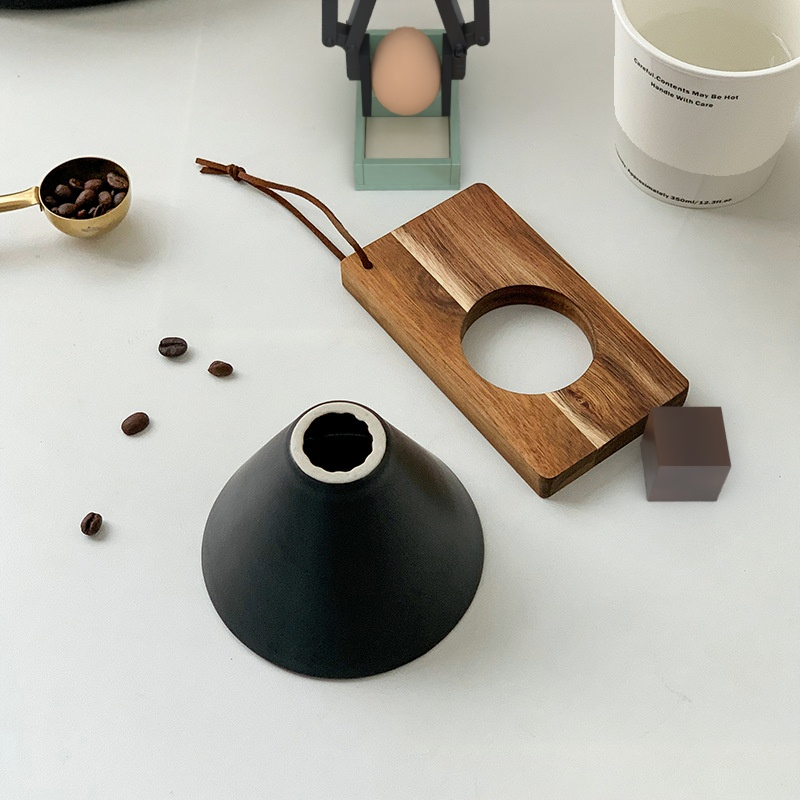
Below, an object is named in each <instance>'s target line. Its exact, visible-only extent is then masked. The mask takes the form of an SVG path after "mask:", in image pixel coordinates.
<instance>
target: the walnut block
mask: <svg viewBox="0 0 800 800" xmlns="http://www.w3.org/2000/svg"><path fill="white" fill-rule="evenodd" d="M640 450H641V457H642V458H641V459H642V466H643V475H644V483H645V491H646V500H647V502H717V501H718V499H719V497H720V495H721V492H722V489H723V487H724V485H725V483H726V481H727V478H728V476H729V473H730V471H731V469H732V461H731V456H730V451H729V444H728V438H727V432H726V426H725V421H724V415H723V408H722V406H651V407H650V410H649V414H648V417H647V420H646V423H645V427H644V430H643V433H642V437H641V440H640Z"/></svg>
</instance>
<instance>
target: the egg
mask: <svg viewBox="0 0 800 800" xmlns="http://www.w3.org/2000/svg"><path fill="white" fill-rule="evenodd" d="M393 29H394V30H392V31H391V32H389V33H388V34H387V35H386V36H385V37H384V38H383V39H382V40H381V41H380V43H379V44H378V46H377V48H376V50H375V52H374V54H373V56H372V60H371V65H370V81H371V85H372V89H373V92H374V94H375V96H376V98H377V99H378V101H379V102H380V103H381V104H382V105H383V106H384V107H385V108H387V109H388V110H389V111H391V112H393V113H396V114H400V115H413V114H417V113H419V112H421V111H423V110H424V109H426V108H427V107H428V106H429V105H430V104H431V103H432V102H433V101H434V100H435V98H436V96H437V94H438V92H439V90H440V87H441V83H442V64H441V59H440V56H439V53H438V51H437V49H436V47H435V46H434V44H433V43H432V41H431V40H430V39H429V38H428V37H427V35H426V34H425V33H423V32H422V31H420V30H418V29H419V28H415V27H412V26H401V27H396V28H393Z"/></svg>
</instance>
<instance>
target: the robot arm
mask: <svg viewBox="0 0 800 800" xmlns="http://www.w3.org/2000/svg"><path fill="white" fill-rule="evenodd" d="M472 1H473V2H472V3H473V20H472V21H471V20H470V21H468V22H466V21H465V19H464V16H463V13H462V9H461V7H460V4H459V1H458V0H434V4H435V6H436V8H437V11H438V13H439V16H440V19H441V22H442V24H443V27H444V28H443V29H445V30H446V33H443V38H442V83H441V110H442V116H451V85H452V80H458V81H463V80H465V77H466V74H467V56H468V50H469V48H471V47H473V46H478V47H482V48H483V47H486V46H488V45H489V44H490V43H491V19H490V18H491V15H490V13H491V12H490V11H491V9H490V0H472ZM376 3H377V0H353V3H352V6H351V9H350V13H349V16H348V18H347V19H346V20H345V23H344V22H342V21H339V0H321V44H322V45H323V46H324V47H326V48H329V49H330V48H334V47H335V46H337V47H339V48H341V49H342V50H344V53H345V66H346V67H345V68H346V77H347V79H348V80H349V81H350V82H351V81H353V82H357V81H361V97H362V117H371V110H372V85H371V81H370V65H371V58H370V33H365V32H366V30H368V26H369V23H370V20H371V18H372V15H373V12H374V9H375V6H376Z"/></svg>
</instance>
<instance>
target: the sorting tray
mask: <svg viewBox="0 0 800 800" xmlns="http://www.w3.org/2000/svg"><path fill="white" fill-rule="evenodd" d="M394 29H395V28H392V29H391V28H389V29H387V28H386V29H383V28H381V29H379V28H378V29H377V28H376V29H372V28H371V29H368V28H367V30H366V32H365V33H370V58H371V60H372V56H373V54H374V52H375V50H376V48H377V46H378V44H379V43H380V41H381V40H382V39H383V38H384V37H385V36H386V35H387V34H388V33H389V32H391V31H392V30H394ZM417 29H418V30H420V31H422V32H423V33H425V34H426V35H427V37H428V38H429V39H430V40H431V41H432V43H433V44H434V46H435V47H436V49H437V51H438V53H439V56H440V59H441V64H442V38H443V33H446V30H445V28H417ZM355 89H356V90H355V92H356V93H355V117H354V142H353V143H354V145H353V146H354V147H353V176H354V177H353V179H354V190H355V191H459V190H460V189H461V169H462V167H461V166H462V165H461V163H462V162H461V159H462V158H461V129H460V103H459V102H460V97H459V95H460V94H459V80H452V85H451V116H442V110H441V87H440V90H439V92H438V94H437V96H436V98H435V100H434V101H433V102H432V103H431V104H430V105H429V106H428V107H427V108H426V109H424V110H423V111H421V112H419V113H417V114H413V115H400V114H396V113H393V112H391V111H389V110H388V109H387V108H385V107H384V106H383V105H382V104H381V103H380V102H379V101H378V99H377V98H376V96H375V94H374V92H373V89H372V110H371V117H362V97H361V81H356V88H355Z"/></svg>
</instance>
